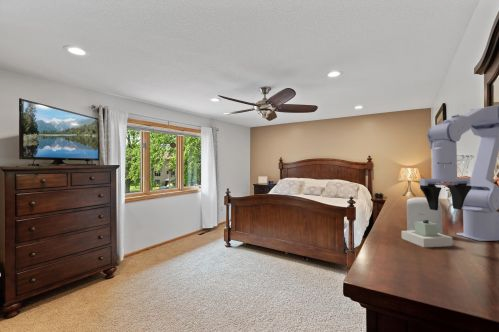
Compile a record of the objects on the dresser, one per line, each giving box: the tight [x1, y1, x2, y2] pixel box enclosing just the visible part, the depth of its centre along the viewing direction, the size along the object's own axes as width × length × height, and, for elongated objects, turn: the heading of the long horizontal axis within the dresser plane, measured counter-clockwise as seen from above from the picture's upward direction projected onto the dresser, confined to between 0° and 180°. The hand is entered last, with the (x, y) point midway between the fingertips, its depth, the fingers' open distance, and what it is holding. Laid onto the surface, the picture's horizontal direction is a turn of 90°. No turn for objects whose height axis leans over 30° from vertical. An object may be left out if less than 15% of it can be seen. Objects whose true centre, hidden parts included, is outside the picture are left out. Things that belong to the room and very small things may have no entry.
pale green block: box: [415, 220, 438, 237], centre depth 75 cm, size 4×4×7 cm
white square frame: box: [401, 230, 454, 248], centre depth 75 cm, size 9×9×2 cm
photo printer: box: [406, 196, 443, 234], centre depth 86 cm, size 10×4×12 cm, turn 39°
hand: (445, 209), depth 72 cm, fingers open, 7 cm apart
